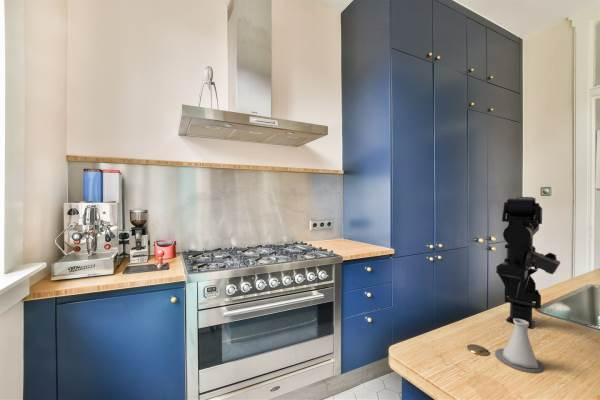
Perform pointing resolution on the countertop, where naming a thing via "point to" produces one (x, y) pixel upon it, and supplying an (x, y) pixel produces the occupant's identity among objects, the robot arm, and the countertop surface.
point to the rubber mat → (531, 370)
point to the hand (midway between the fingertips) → (517, 295)
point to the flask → (520, 346)
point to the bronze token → (478, 350)
